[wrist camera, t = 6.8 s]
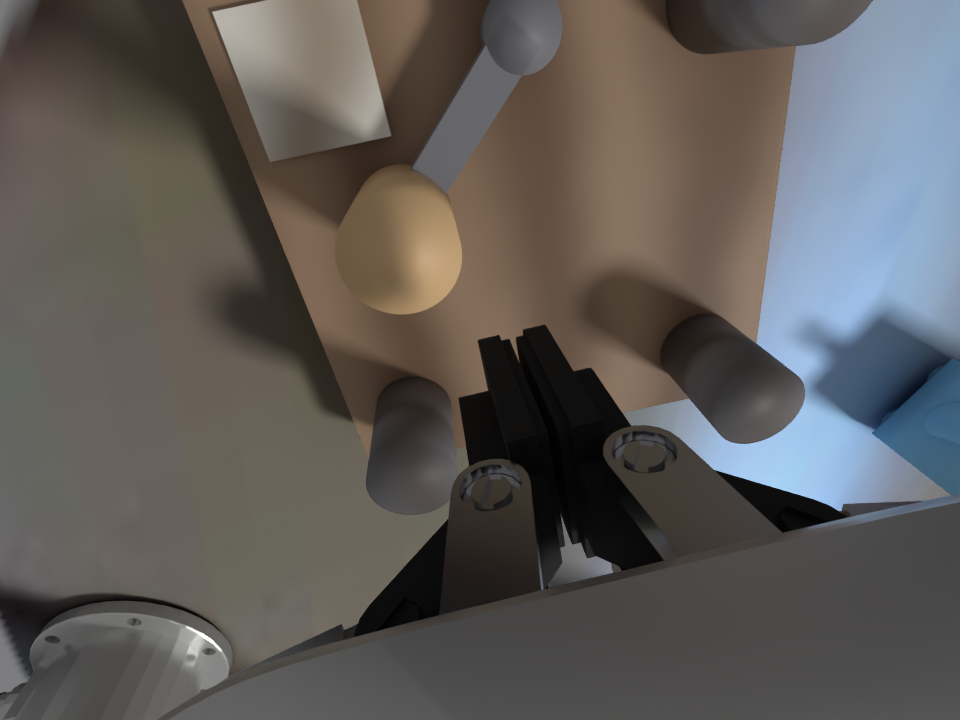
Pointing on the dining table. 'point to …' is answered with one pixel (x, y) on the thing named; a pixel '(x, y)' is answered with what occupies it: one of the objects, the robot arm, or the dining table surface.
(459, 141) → the hinged leg
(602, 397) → the robot arm
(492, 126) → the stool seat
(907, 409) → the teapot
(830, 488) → the dining table surface
